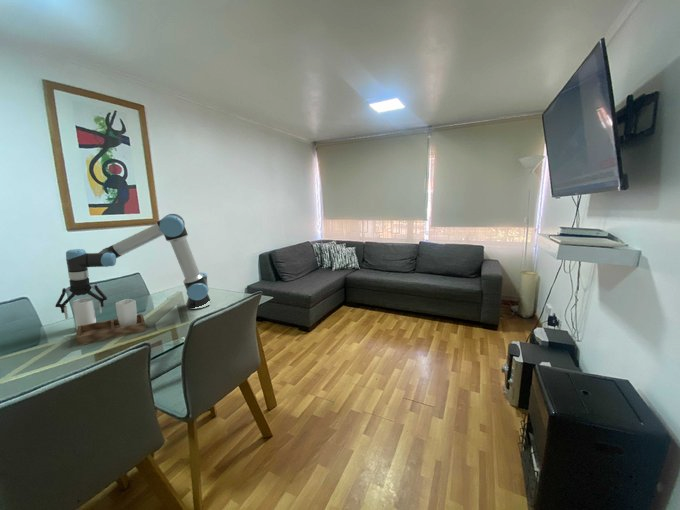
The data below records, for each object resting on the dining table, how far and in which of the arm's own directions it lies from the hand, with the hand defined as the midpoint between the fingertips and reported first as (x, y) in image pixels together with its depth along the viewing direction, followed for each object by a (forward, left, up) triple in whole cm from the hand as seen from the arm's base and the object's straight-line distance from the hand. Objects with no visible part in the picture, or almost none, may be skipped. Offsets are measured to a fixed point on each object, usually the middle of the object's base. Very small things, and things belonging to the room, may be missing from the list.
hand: (84, 315), depth 147 cm
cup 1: (0, 0, -8) cm, 8 cm away
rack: (-11, +14, -7) cm, 19 cm away
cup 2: (-18, +13, -7) cm, 23 cm away
